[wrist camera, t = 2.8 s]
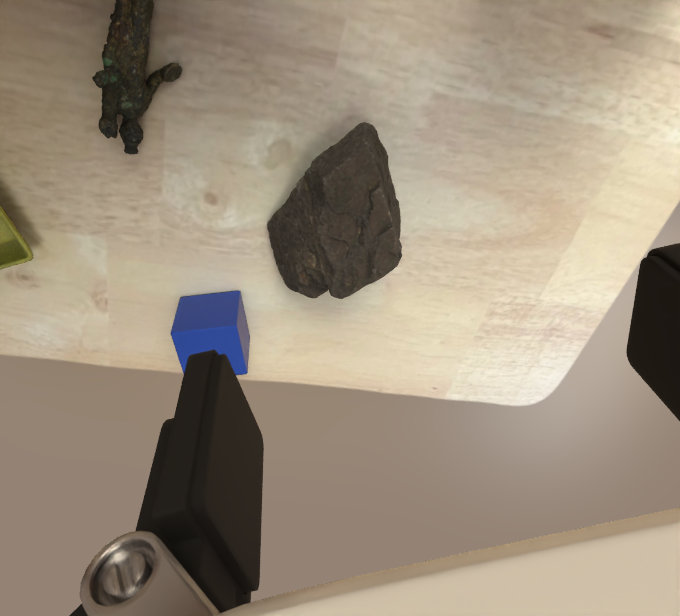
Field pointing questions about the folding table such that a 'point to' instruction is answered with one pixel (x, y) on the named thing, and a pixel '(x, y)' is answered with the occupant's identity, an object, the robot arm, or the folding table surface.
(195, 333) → the cube
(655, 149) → the folding table surface
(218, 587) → the robot arm
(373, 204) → the rock
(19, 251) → the green rectangular tray
